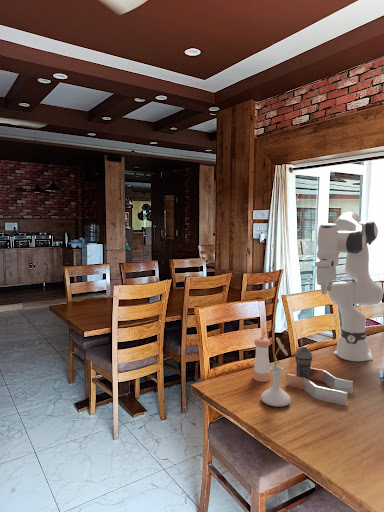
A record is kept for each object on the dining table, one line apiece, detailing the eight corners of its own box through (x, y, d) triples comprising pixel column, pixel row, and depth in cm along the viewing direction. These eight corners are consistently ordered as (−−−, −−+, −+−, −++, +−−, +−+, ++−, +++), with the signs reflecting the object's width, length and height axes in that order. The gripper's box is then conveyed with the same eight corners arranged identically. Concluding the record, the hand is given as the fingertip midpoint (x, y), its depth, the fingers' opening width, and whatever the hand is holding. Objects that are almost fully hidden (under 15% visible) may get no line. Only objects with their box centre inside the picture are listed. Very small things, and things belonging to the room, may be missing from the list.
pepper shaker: (263, 383, 166) (263, 340, 164) (250, 378, 171) (250, 336, 170) (273, 378, 171) (273, 336, 169) (260, 373, 176) (260, 333, 175)
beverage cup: (312, 386, 162) (313, 340, 161) (294, 385, 164) (295, 339, 162) (310, 379, 169) (312, 335, 168) (293, 378, 171) (294, 334, 169)
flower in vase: (289, 411, 141) (290, 346, 139) (258, 406, 145) (259, 342, 143) (292, 396, 153) (293, 335, 151) (264, 392, 157) (264, 333, 155)
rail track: (295, 375, 175) (295, 364, 174) (354, 387, 161) (355, 376, 161) (281, 390, 159) (282, 379, 158) (346, 406, 145) (347, 393, 145)
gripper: (325, 258, 176) (324, 288, 177) (314, 262, 159) (313, 295, 160) (339, 259, 173) (338, 289, 174) (329, 263, 155) (328, 297, 157)
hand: (326, 292), depth 167 cm, fingers open, 8 cm apart
